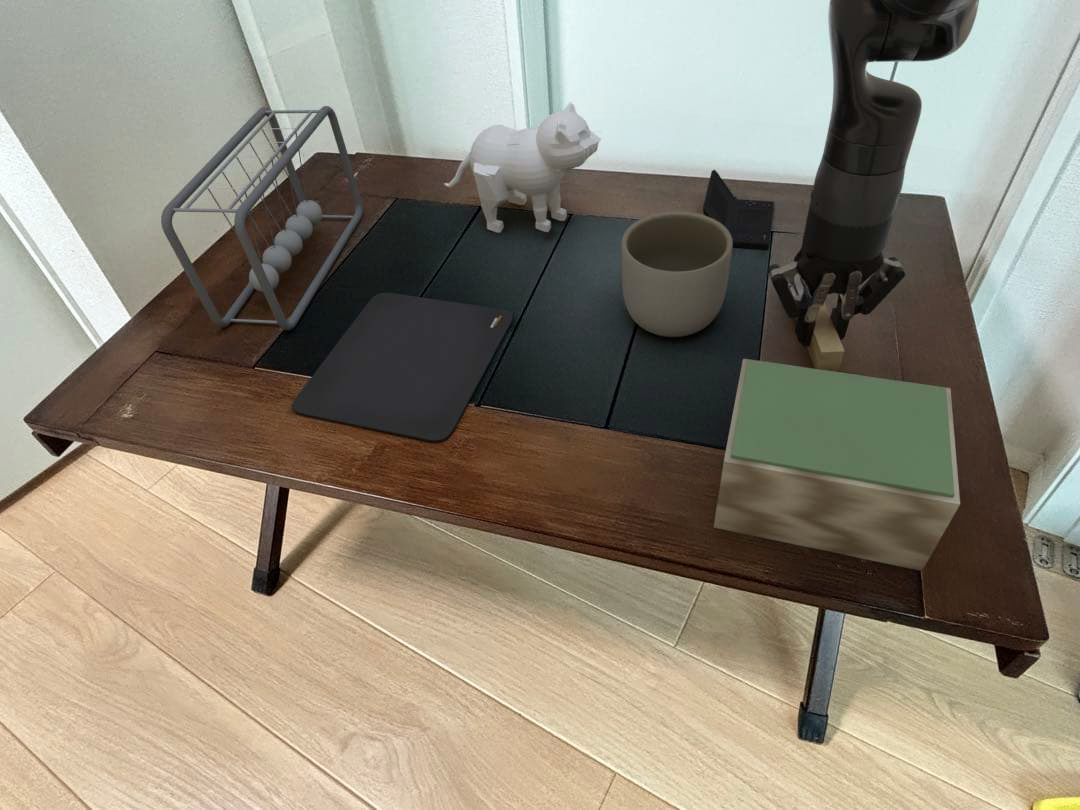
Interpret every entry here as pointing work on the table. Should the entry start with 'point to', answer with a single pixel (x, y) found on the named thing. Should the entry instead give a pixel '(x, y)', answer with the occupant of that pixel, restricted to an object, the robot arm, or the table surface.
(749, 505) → the stand
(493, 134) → the cat figurine
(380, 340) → the mouse pad
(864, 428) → the green rectangular slab
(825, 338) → the fork
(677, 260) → the planter
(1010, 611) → the table surface
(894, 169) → the robot arm
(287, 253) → the newton's cradle
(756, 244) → the handheld gaming console
